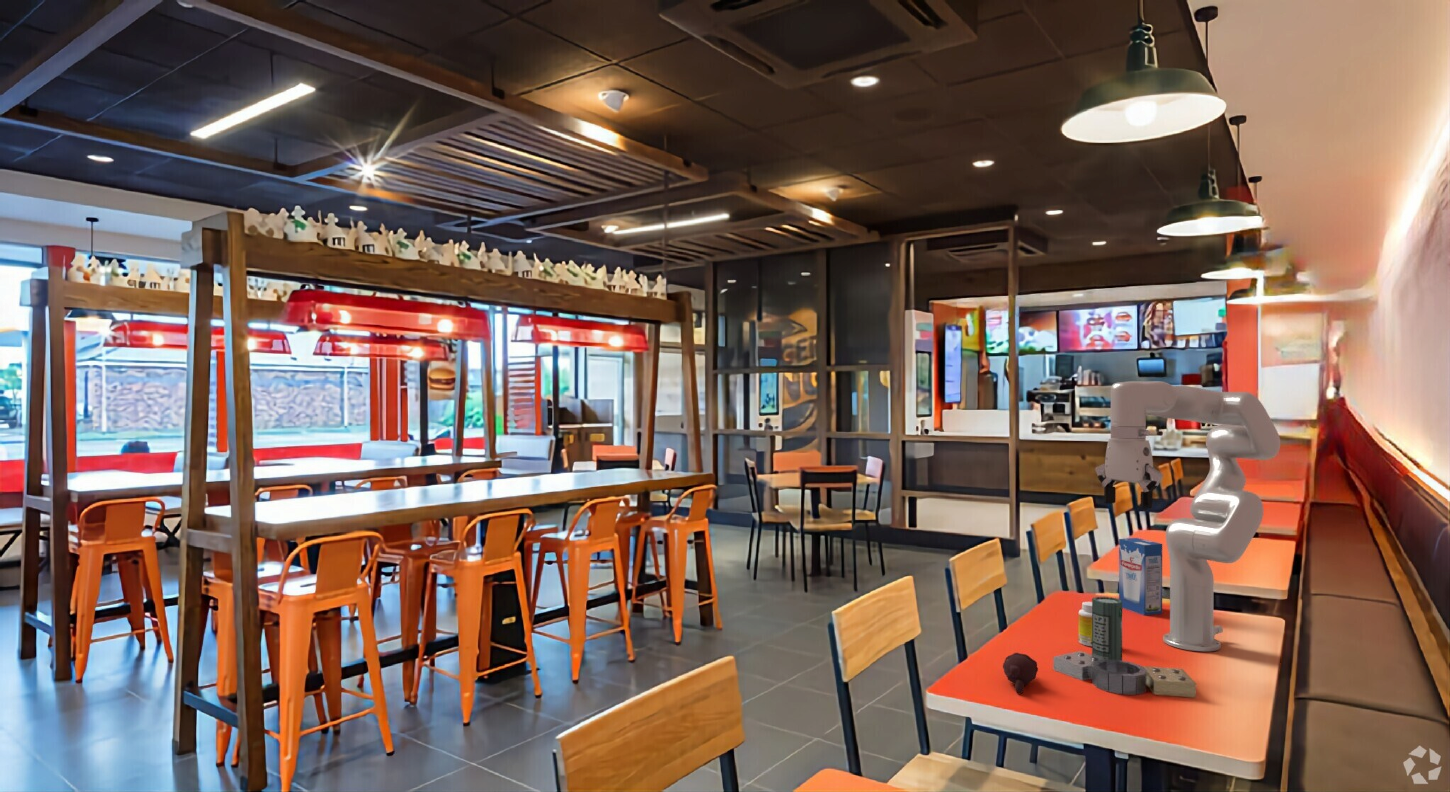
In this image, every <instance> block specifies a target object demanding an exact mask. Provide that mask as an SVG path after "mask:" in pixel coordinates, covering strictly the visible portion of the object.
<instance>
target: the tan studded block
mask: <svg viewBox="0 0 1450 792" xmlns="http://www.w3.org/2000/svg"><path fill="white" fill-rule="evenodd" d="M1142 667H1143V668H1145V669H1146V670H1147V687H1148V689H1149V690H1150V691H1151V693H1152V694H1153V696H1154V695H1155V696H1156V695H1157V696H1169V697H1170V696H1171V697H1179V698H1181V697H1183V698H1195V699H1196V697H1197V683H1196V682H1195V681H1194V680H1193V679H1192V677H1190V675H1189V674H1188V673H1187V672H1186V671H1185V669H1184V668H1175V667H1174V668H1173V667H1163V666H1162V667H1161V666H1145V665H1144V666H1142Z"/></svg>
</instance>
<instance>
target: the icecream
mask: <svg viewBox="0 0 1450 792" xmlns="http://www.w3.org/2000/svg"><path fill="white" fill-rule="evenodd" d="M1002 664H1003V665H1002V668H1003V672H1004V674H1005V677H1006V678H1007V680H1008V681H1009V682H1010V683H1012V684H1014V685H1015V686H1014V687H1015V692H1016V693H1017V694H1022V693H1023V692H1024V690H1025V686H1027V685H1028V684H1030V683H1031V682H1032V681H1034V680H1035V679H1036V677H1037V675H1038V674H1037V673H1038V672H1039V671H1038V670H1039V668H1038V662H1037V661H1036V660H1034V658H1032V657H1030V656H1029V655H1028V654H1024V653H1019V652H1014V653H1013V654H1010V655H1008V656H1007V657H1005V659H1004V662H1003V663H1002Z"/></svg>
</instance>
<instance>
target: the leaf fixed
mask: <svg viewBox="0 0 1450 792" xmlns="http://www.w3.org/2000/svg"><path fill="white" fill-rule="evenodd" d="M1052 660H1053V661H1052V662H1053V663H1052V665H1053V671H1055V672H1058V673H1060V674H1063V675H1066V676H1069V677H1071V678H1074V679H1076V680H1079V681H1087V680H1092V681H1091V682H1092V684H1093V686H1095V688H1097V689H1099V690H1102V691H1105V692H1108V693H1112V694H1118V695H1123V696H1125V695H1130V696H1131V695H1132V696H1134V695H1135V696H1138V695H1140V694H1144V693H1146V691H1147V687H1148V686H1147V670H1146V669H1145V668H1143V666H1142V665H1140V664H1137V663H1135V662H1132V661H1127V660H1122V661H1121V660H1107V659H1103V658H1100V657H1097V656H1094V655H1092V653H1091V654H1090V653H1088V652H1085V651H1082V650H1079V651H1074V652H1070V653H1065V654H1060V655H1054V656H1053V657H1052Z"/></svg>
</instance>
